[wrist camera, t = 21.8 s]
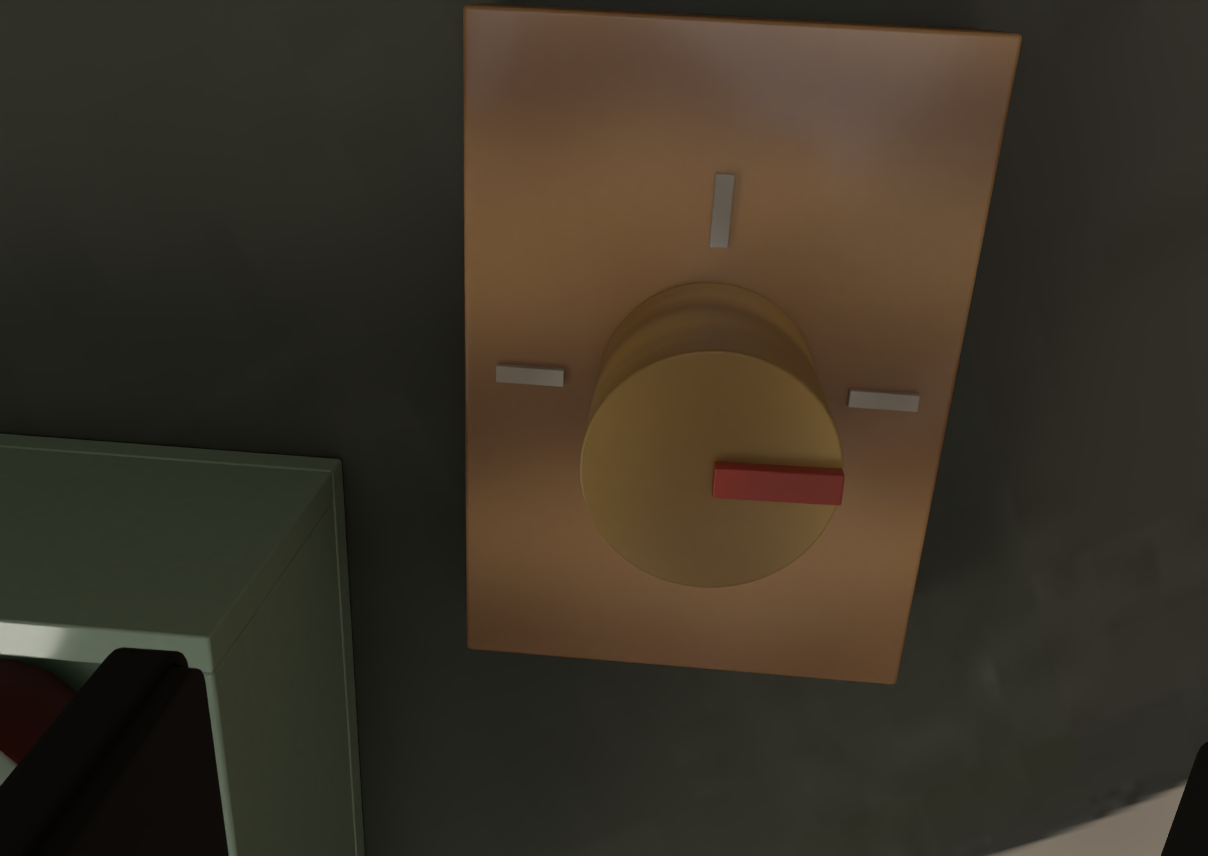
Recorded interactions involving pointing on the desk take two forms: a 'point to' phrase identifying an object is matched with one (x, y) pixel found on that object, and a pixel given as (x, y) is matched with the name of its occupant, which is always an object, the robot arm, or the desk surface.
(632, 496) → the rotary knob
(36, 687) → the cocoa
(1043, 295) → the desk surface
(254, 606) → the green open box
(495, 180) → the wooden knob base
